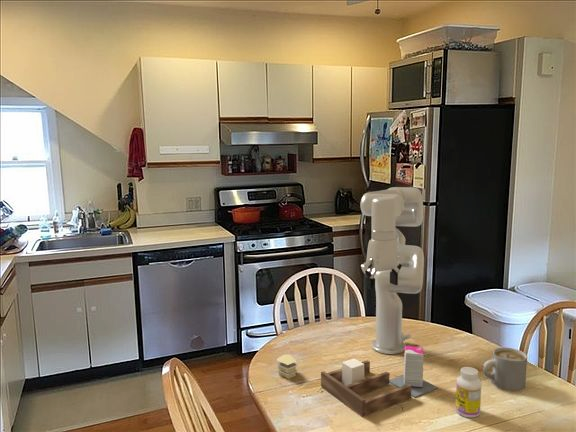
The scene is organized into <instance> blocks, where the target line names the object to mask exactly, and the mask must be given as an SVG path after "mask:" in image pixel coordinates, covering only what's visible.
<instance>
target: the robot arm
mask: <svg viewBox="0 0 576 432" xmlns="http://www.w3.org/2000/svg"><path fill="white" fill-rule="evenodd" d="M360 210H361V211H360V212H361V213H362V215H364V216H367V217H371V238H370V239H369V241H368V244H367V252H366V261H364V262H363V263H362V264H361V265H360V268H361V270H362V273H363V274H364V275H365V277H366V279H367V280H366V287H367V289H368V290H371V291H375V297H376V298H375V300H376V301H375V305H376V307H375V316H376V317H375V339H374V340H373V341H372V342H371V348H372V349H373V350H374V351H376V352H378V353H381V354H385V355H397V354H401V353H403V352H405V346H407V345H406V344H405V341H406V340H409V339H411V338H412V337H411V333H408V332H407V333H406V334H404V333H403V332H402V331H403V325H402V324H403V302H402V299H401V298H400V297H399V295H398V294H399V293H400V294H401V293H402V294H414V295H415V294H419V293H420V292H421V291H422V290H423V289H422V288H423V285H424V284H423V283H424V267H425V266H424V265H425V257H424V256H425V255H424V254H425V253H424V251H423V249H422V247H420V246H417V245H409V244H406V237H405V236H404V234H403V232H401V231H400V229H399V228H397V227H412V228H413V227H420V226H421V225H422V223H423V222H424V221H423V220H424V201H423V195H422V192H421V190H420V189H419V188H417V187H413V186H412V187H411V186H410V187H404V186H403V187H402V186H394V187H389V188H387V189H382V190H376V191H368V192H366V193H364V194H363V195H362V197H361V199H360Z"/></svg>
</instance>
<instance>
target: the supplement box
mask: <svg viewBox="0 0 576 432" xmlns="http://www.w3.org/2000/svg"><path fill="white" fill-rule="evenodd" d="M424 354H425V353H424V347H421V346H411V345H406V346H405V350H404V360H403V361H404V363H403V375H404V377H403V381H404V386H405V385H407V384H409V385H411V388H422V385H423V380H424V359H425V355H424Z"/></svg>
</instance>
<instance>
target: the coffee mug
mask: <svg viewBox="0 0 576 432" xmlns="http://www.w3.org/2000/svg"><path fill="white" fill-rule="evenodd" d="M527 366H528V356H527V354H526V353H525V352H523V351H521V350H519V349H518V348H517V349H516V348H513V347H506V346H505V347H496V348H495V349H493V351H492V359H488V360H486V361H485V362H484V363H483V366H482V371H483V372H482V373H483V375H484V377H486V378H488V379H490V381H491V383H492V385H493V386H495V387H497V388H498V389H501V390H502V391H503V390H504V391H507V392H520V391H523V390H525V389H526V386H527V370H528V369H527ZM490 367H491V372H490V373H489V368H490Z"/></svg>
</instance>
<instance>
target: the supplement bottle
mask: <svg viewBox="0 0 576 432" xmlns="http://www.w3.org/2000/svg"><path fill="white" fill-rule="evenodd" d="M455 387H456V388H455V389H456V392H455V411H456V413H457V414H459V415H460V416H462V417H465V418H469V419H470V418H476V417H478V416H480V413H481V404H482V403H481V400H482V382H481V380H480V378H479V370H478V369H476V368H474V367H471V366H463V367H461V368H460V375H459V376H458V377H457V379H456V386H455Z"/></svg>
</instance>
